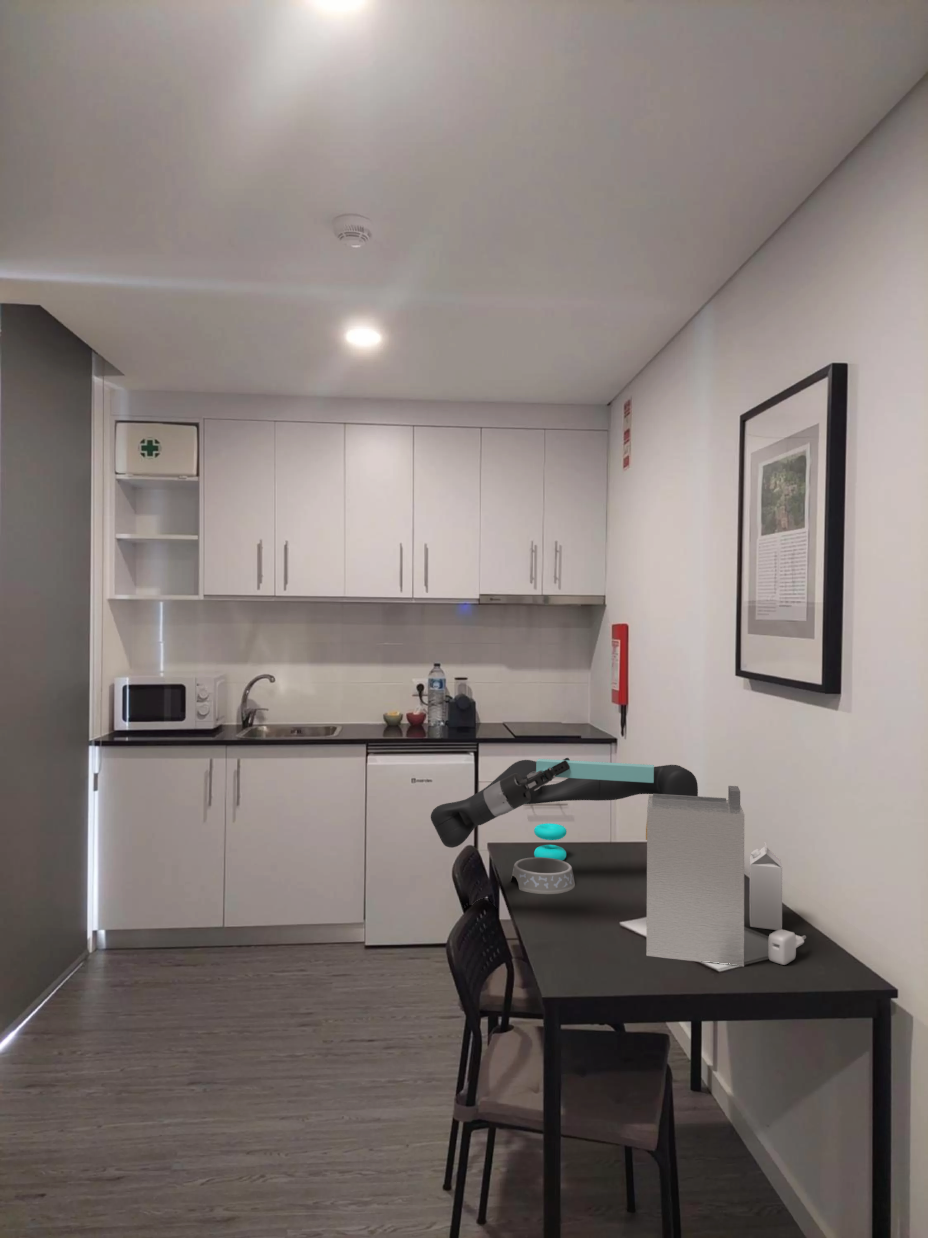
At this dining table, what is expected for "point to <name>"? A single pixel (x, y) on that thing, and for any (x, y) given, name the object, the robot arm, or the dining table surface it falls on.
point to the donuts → (550, 833)
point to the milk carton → (765, 890)
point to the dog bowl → (543, 875)
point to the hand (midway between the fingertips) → (568, 763)
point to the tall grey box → (695, 878)
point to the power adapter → (783, 946)
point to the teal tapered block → (602, 770)
